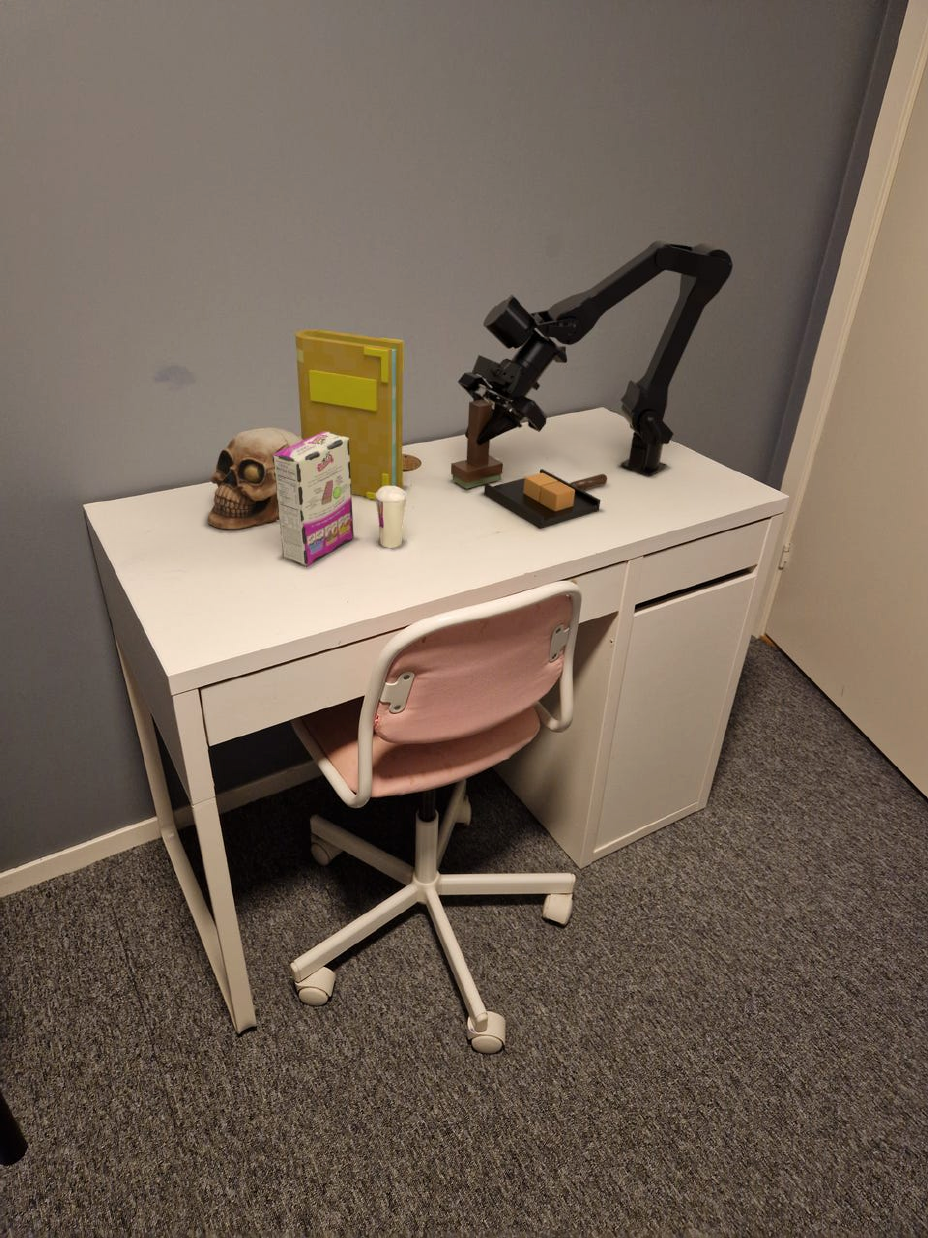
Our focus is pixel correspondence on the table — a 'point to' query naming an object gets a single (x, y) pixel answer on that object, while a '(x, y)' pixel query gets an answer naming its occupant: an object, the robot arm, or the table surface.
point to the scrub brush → (477, 451)
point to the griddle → (539, 513)
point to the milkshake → (391, 515)
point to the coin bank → (248, 479)
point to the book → (355, 401)
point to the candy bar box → (314, 496)
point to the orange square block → (557, 496)
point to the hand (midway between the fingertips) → (472, 440)
